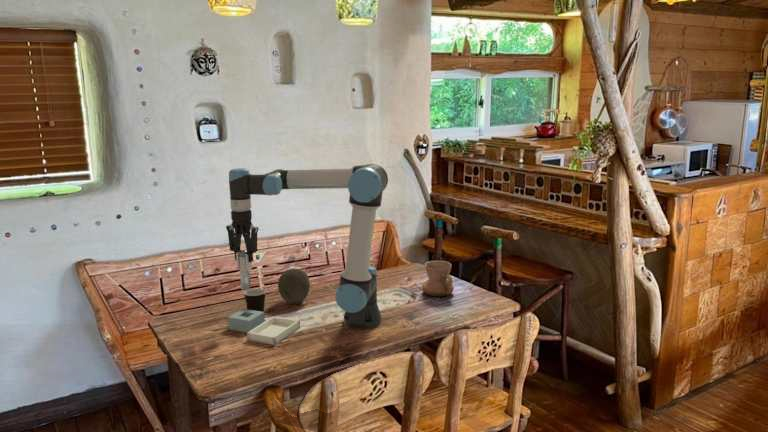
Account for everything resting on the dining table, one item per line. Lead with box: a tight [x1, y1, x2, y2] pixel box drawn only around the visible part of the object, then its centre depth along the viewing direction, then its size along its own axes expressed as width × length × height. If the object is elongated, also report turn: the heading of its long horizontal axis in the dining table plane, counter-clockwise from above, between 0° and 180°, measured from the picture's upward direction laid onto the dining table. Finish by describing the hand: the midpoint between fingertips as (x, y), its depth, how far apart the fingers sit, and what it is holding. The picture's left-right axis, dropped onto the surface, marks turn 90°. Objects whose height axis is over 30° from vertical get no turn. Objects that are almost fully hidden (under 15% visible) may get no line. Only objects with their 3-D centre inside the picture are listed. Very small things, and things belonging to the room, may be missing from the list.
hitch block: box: [227, 308, 266, 333], centre depth 233 cm, size 10×10×5 cm
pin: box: [239, 249, 251, 291], centre depth 228 cm, size 4×4×15 cm
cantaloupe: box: [277, 268, 311, 305], centre depth 259 cm, size 14×14×15 cm
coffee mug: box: [243, 288, 267, 313], centre depth 245 cm, size 12×9×10 cm
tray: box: [246, 316, 301, 346], centre depth 226 cm, size 12×18×3 cm, turn 157°
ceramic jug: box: [421, 260, 455, 297], centre depth 269 cm, size 18×14×14 cm
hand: (244, 269), depth 228 cm, fingers closed on pin, 4 cm apart
